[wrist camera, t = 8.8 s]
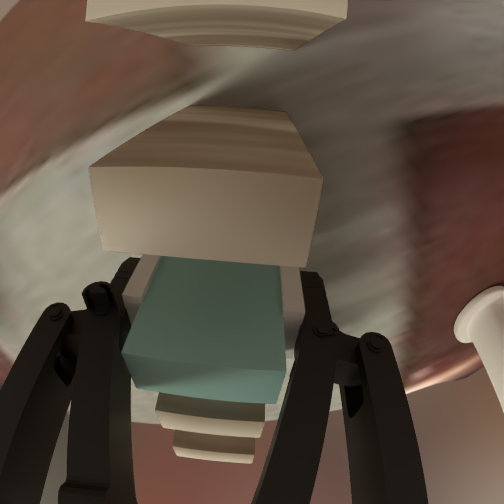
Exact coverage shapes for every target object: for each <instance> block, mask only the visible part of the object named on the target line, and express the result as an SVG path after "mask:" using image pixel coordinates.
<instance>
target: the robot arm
mask: <svg viewBox="0 0 504 504" xmlns="http://www.w3.org/2000/svg"><path fill="white" fill-rule="evenodd" d="M161 258H162V256H158V255H147V254H143V255H142V257H141V258H133V257H129V258H128V259H127V260H126V261H124V262H123V263H122V264H121V266H120V267H119V269H118V272H117V273H116V274H115V276H114V278H113V280H112V281H111V283H110V284H109V283H107V282H101V281H100V282H94V283H92V284H90V285H88V286H87V287H86V288H85V289H84V290H83V292H82V296H83V299H84V302H85V304H86V307H87V309H86V310H78V311H70V308H69V307H68V306H67V304H64V303H55V304H52V305H50V306H49V307H47V308H46V309H45V310H44V312H43V313H42V315H41V317H40V318H39V320H38V322H37V323H36V325H35V327H34V328H33V330H32V332H31V333H30V335H29V337H28V339H27V340H26V342H25V344H24V346H23V348H22V349H21V351H20V353H19V355H18V357H17V359H16V361H15V362H14V364H13V366H12V368H11V370H10V372H9V374H8V376H7V378H6V380H5V382H4V384H3V387H2V389H1V391H0V504H40V500H41V496H42V493H43V489H44V485H45V481H46V477H47V473H48V469H49V466H50V462H51V459H52V455H53V452H54V449H55V446H56V442H57V439H58V436H59V433H60V430H61V427H62V424H63V421H64V418H65V415H66V412H67V410H68V407H69V404H70V401H71V408H70V419H69V431H68V448H67V479H66V482H65V483H64V484H62V485H61V486H60V489H59V492H58V504H138V503H137V500H136V495H135V485H134V474H133V460H132V443H131V375H130V372H129V370H128V368H127V365H126V363H125V360H124V358H123V355H122V353H121V352H122V350H123V347H124V344H125V342H126V339H127V337H128V334H129V332H130V329H131V327H132V324H133V322H134V319H135V317H136V314H137V312H138V309H139V307H140V305H141V303H142V302H143V299H144V297H145V295H146V292H147V290H148V288H149V285H150V283H151V281H152V279H153V276H154V274H155V272H156V270H157V267H158V265H159V263H160V261H161ZM279 267H280V282H281V298H282V315H283V317H284V334H285V353H286V358H292V356H293V353H294V357H295V361H294V364H293V367H292V370H291V373H290V376H289V377H290V379H289V382H288V386H287V390H286V394H285V397H284V401H283V404H282V408H281V412H280V415H279V419H278V422H277V426H276V429H275V432H274V436H273V439H272V442H271V445H270V449H269V452H268V455H267V458H266V461H265V464H264V467H263V471H262V474H261V477H260V480H259V483H258V486H257V488H256V491H255V494H254V497H253V500H252V503H251V504H309V503H310V500H311V496H312V492H313V488H314V484H315V479H316V475H317V471H318V466H319V462H320V457H321V452H322V447H323V443H324V437H325V432H326V426H327V421H328V415H329V410H330V404H331V397H332V391H333V384H334V383H336V384H339V387H340V394H341V401H342V409H343V416H344V424H345V433H346V440H347V450H348V460H349V470H350V482H351V494H352V504H428V498H427V491H426V485H425V479H424V473H423V468H422V463H421V457H420V453H419V447H418V443H417V439H416V434H415V430H414V426H413V421H412V417H411V413H410V409H409V405H408V401H407V397H406V394H405V390H404V386H403V383H402V379H401V376H400V372H399V369H398V366H397V362H396V359H395V356H394V353H393V349H392V346H391V344H390V342H389V340H388V339H387V338H386V337H385V336H383V335H381V334H379V333H375V332H369V333H365V334H364V335H362V337H361V338H357V337H353V336H350V335H347V334H344V333H342V332H341V331H339V328H338V327H337V325H336V324H335V323H334V322H332V319H331V314H330V310H329V305H328V300H327V296H326V292H325V287H324V283H323V279H322V278H321V277H320V276H319V274H318V273H317V272H306V271H299V267H291V266H279Z"/></svg>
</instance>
